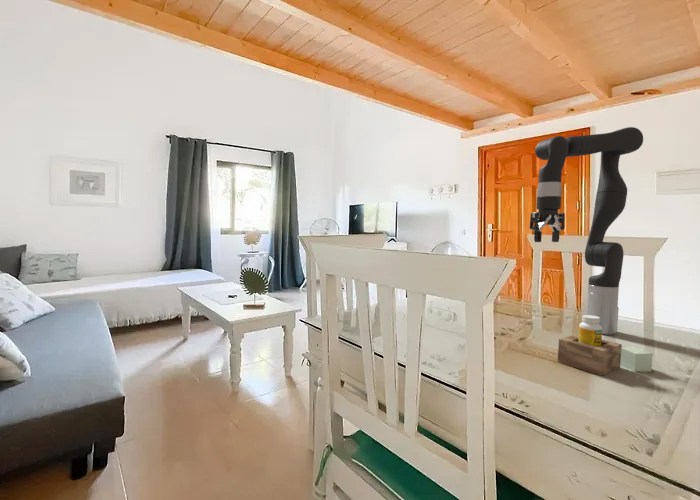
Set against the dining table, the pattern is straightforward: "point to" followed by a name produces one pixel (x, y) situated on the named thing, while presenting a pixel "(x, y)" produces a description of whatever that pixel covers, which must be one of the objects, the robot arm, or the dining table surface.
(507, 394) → the dining table surface
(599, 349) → the brown open box
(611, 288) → the robot arm
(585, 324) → the supplement bottle
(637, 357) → the green cube
